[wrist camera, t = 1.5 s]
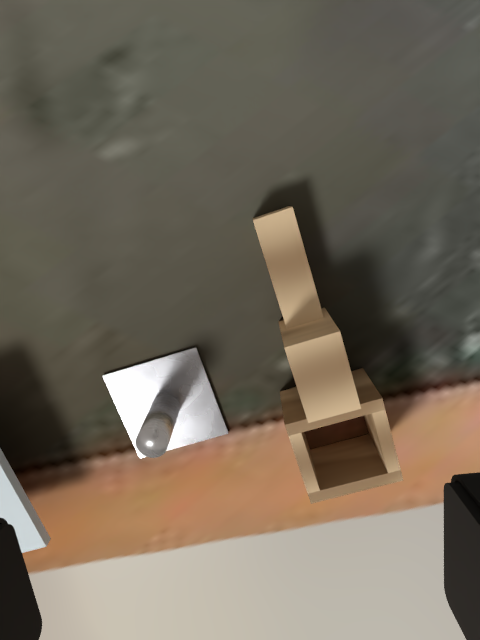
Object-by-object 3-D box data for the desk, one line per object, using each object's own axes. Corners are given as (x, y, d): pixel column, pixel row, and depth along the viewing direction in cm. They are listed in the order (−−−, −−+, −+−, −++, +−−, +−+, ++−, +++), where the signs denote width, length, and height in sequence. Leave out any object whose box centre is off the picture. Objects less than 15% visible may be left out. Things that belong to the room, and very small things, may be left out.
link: (381, 440, 31) (406, 485, 26) (302, 461, 32) (312, 509, 27) (317, 196, 26) (333, 197, 21) (225, 227, 27) (220, 234, 22)
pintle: (196, 346, 29) (185, 376, 24) (228, 432, 31) (224, 475, 26) (103, 374, 30) (75, 409, 25) (140, 456, 32) (120, 503, 27)
